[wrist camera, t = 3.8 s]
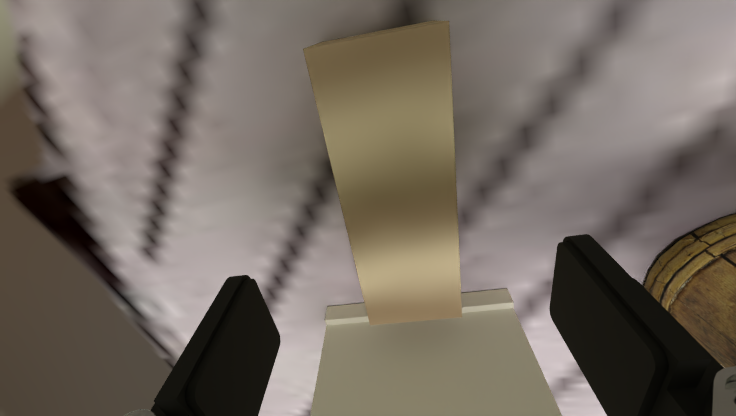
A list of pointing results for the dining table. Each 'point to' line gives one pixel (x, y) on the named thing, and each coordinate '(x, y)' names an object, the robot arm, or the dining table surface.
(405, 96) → the tan wooden block
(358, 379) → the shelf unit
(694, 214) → the dining table surface
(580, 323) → the robot arm
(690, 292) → the wooden mug
